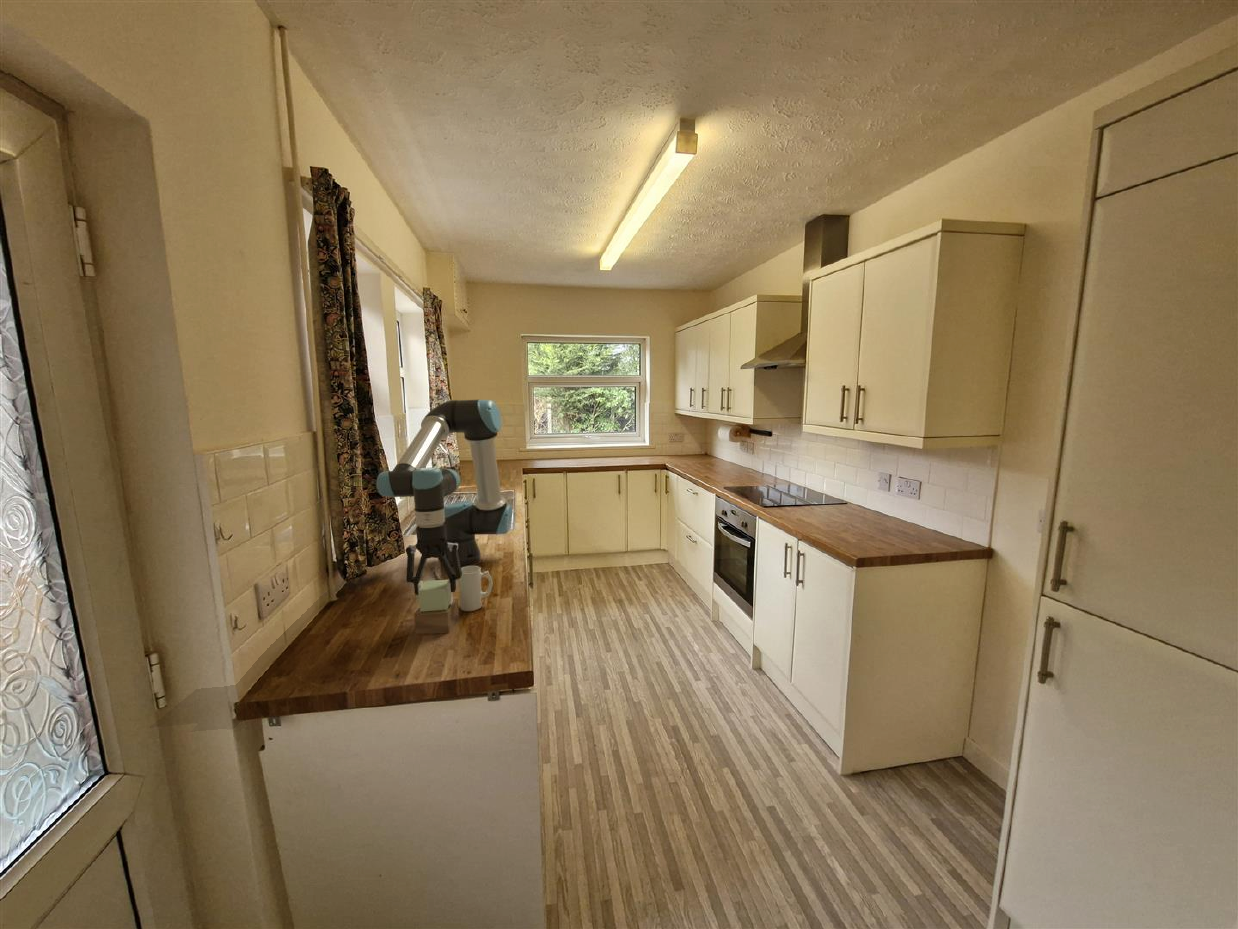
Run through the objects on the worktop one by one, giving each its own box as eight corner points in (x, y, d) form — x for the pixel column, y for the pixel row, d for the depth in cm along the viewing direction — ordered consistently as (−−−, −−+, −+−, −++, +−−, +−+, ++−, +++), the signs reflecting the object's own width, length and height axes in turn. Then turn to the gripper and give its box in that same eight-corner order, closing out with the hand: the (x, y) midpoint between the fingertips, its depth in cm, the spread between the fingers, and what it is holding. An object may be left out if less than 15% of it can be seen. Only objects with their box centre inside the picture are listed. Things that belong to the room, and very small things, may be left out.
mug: (458, 613, 141) (456, 574, 140) (460, 603, 148) (458, 567, 146) (493, 609, 144) (491, 571, 142) (494, 600, 150) (492, 563, 149)
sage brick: (426, 601, 136) (425, 581, 135) (452, 599, 137) (450, 579, 136) (420, 611, 129) (418, 590, 128) (446, 609, 130) (445, 588, 129)
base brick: (428, 619, 138) (426, 599, 137) (459, 618, 138) (457, 599, 138) (415, 634, 129) (414, 613, 129) (448, 633, 129) (447, 612, 129)
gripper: (387, 530, 125) (394, 612, 128) (465, 525, 128) (470, 606, 131) (396, 522, 132) (403, 601, 135) (470, 519, 135) (475, 595, 138)
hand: (436, 603), depth 133 cm, fingers closed on sage brick, 7 cm apart
